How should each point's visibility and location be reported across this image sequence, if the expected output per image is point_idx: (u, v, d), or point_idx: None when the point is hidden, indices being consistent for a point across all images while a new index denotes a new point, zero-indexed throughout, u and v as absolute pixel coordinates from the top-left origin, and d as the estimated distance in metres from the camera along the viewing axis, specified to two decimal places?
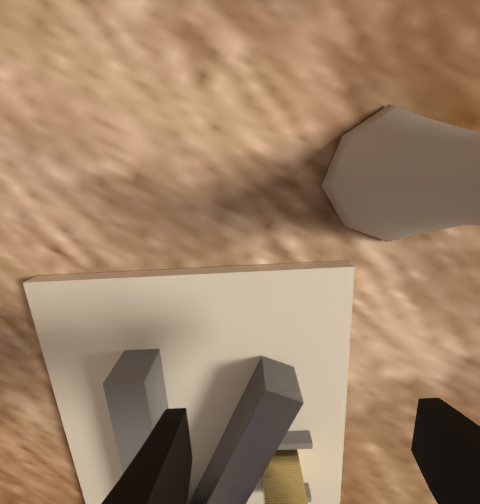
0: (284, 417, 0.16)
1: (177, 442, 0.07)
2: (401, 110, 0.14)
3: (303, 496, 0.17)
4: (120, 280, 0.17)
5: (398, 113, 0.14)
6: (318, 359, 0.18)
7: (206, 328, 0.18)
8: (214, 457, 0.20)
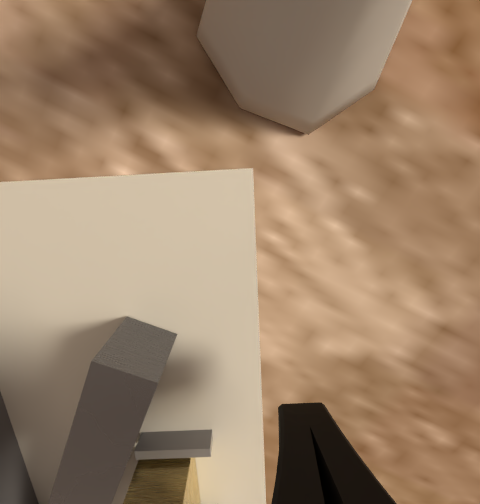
0: (130, 407, 0.10)
1: (310, 437, 0.07)
2: None
3: None
4: None
5: None
6: (213, 322, 0.12)
7: (36, 273, 0.12)
8: None
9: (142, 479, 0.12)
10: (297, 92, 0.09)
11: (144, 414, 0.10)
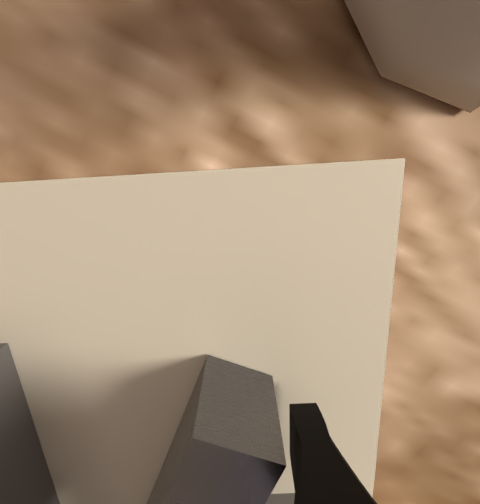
0: (242, 497, 0.07)
1: (327, 437, 0.07)
2: None
3: None
4: None
5: None
6: (325, 362, 0.09)
7: (96, 301, 0.09)
8: None
9: None
10: None
11: None
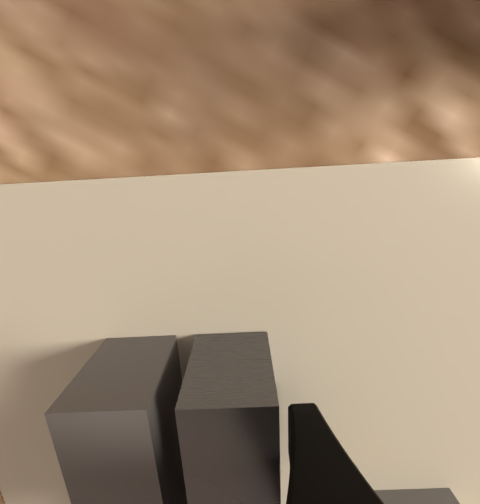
0: (254, 454, 0.07)
1: (320, 437, 0.07)
2: None
3: None
4: (95, 185, 0.08)
5: None
6: None
7: (273, 293, 0.09)
8: None
9: None
10: None
11: (277, 456, 0.07)
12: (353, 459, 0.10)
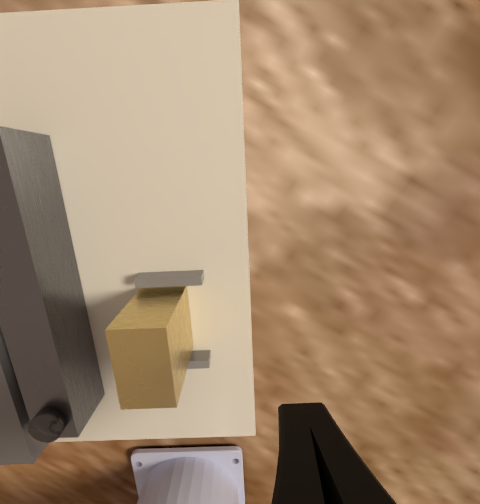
0: None
1: (310, 437, 0.07)
2: None
3: (166, 317, 0.12)
4: None
5: None
6: (204, 157, 0.14)
7: (48, 105, 0.13)
8: None
9: (141, 298, 0.14)
10: None
11: (6, 164, 0.11)
12: (130, 244, 0.15)
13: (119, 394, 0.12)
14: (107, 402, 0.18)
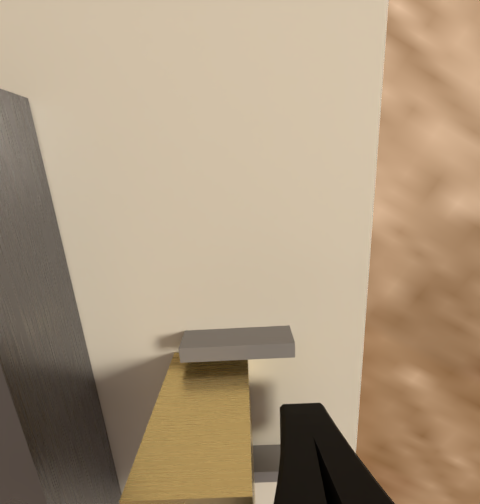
0: None
1: (311, 437, 0.07)
2: None
3: (241, 453, 0.06)
4: None
5: None
6: (306, 134, 0.08)
7: (24, 40, 0.07)
8: None
9: (178, 387, 0.08)
10: None
11: None
12: (170, 285, 0.09)
13: None
14: None
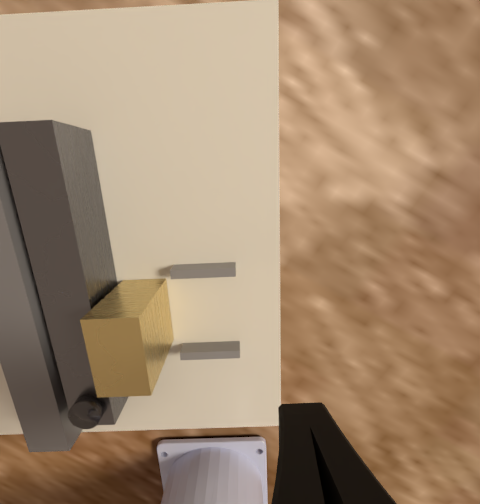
0: (44, 155, 0.11)
1: (309, 437, 0.07)
2: None
3: (140, 308, 0.13)
4: None
5: None
6: (240, 151, 0.14)
7: (91, 101, 0.14)
8: None
9: (119, 291, 0.15)
10: None
11: (58, 157, 0.11)
12: (165, 236, 0.15)
13: (95, 382, 0.13)
14: None
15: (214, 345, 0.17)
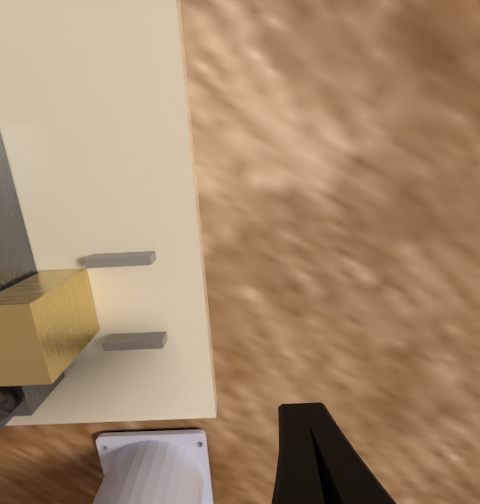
0: None
1: (309, 437, 0.07)
2: None
3: (38, 295, 0.12)
4: None
5: None
6: (149, 138, 0.14)
7: None
8: None
9: (31, 280, 0.14)
10: None
11: None
12: (82, 225, 0.15)
13: None
14: (67, 384, 0.18)
15: (139, 336, 0.17)
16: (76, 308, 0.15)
